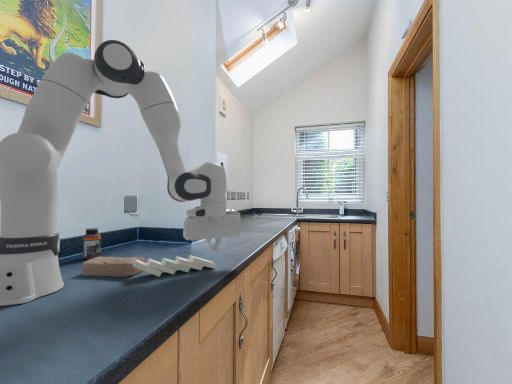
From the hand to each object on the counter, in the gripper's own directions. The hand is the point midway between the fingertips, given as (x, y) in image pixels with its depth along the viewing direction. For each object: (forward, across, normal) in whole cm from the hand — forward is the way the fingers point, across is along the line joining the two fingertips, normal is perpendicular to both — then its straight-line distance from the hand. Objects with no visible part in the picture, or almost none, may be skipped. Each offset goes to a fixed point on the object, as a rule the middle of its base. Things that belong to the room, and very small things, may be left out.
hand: (213, 251), depth 93 cm
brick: (+6, +29, -10) cm, 32 cm away
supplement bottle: (+6, +35, -36) cm, 51 cm away
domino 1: (+5, +18, 0) cm, 18 cm away
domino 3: (+5, +5, 0) cm, 7 cm away
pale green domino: (+5, +9, 0) cm, 10 cm away
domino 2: (+5, +14, 0) cm, 14 cm away
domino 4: (+5, 0, 0) cm, 5 cm away
